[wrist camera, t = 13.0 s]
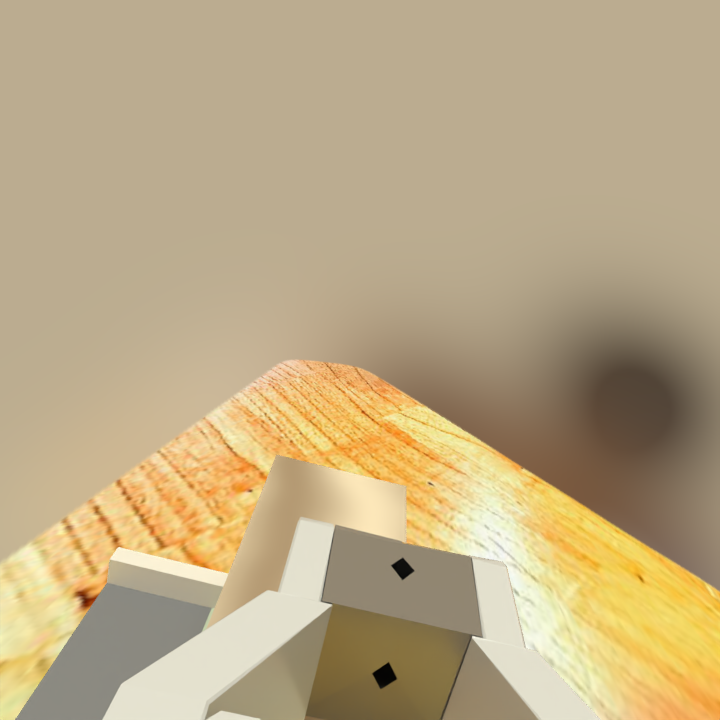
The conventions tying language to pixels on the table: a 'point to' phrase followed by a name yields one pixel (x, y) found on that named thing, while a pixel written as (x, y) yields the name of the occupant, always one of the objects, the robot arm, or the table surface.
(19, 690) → the table surface
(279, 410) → the table surface
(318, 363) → the table surface
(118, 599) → the trap runway
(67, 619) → the table surface
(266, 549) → the maple block
